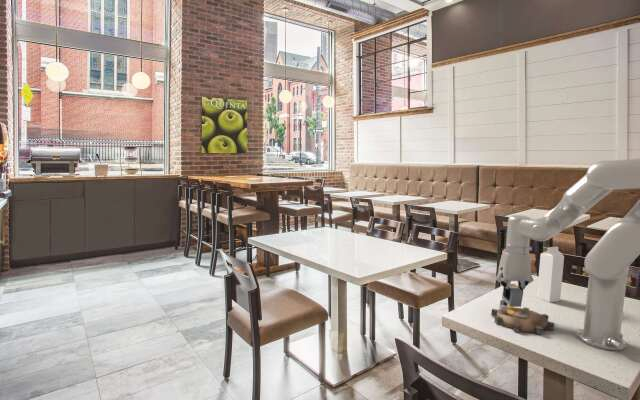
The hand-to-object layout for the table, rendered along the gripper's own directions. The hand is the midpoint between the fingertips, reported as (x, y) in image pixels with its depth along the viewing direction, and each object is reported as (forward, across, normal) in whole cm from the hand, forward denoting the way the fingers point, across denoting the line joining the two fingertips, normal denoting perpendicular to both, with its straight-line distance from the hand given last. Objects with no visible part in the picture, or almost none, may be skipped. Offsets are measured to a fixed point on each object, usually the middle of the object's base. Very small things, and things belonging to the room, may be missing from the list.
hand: (512, 297), depth 143 cm
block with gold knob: (+7, 0, -6) cm, 9 cm away
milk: (+7, -24, -16) cm, 30 cm away
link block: (+2, 0, -1) cm, 2 cm away
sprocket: (+7, 0, +6) cm, 9 cm away
